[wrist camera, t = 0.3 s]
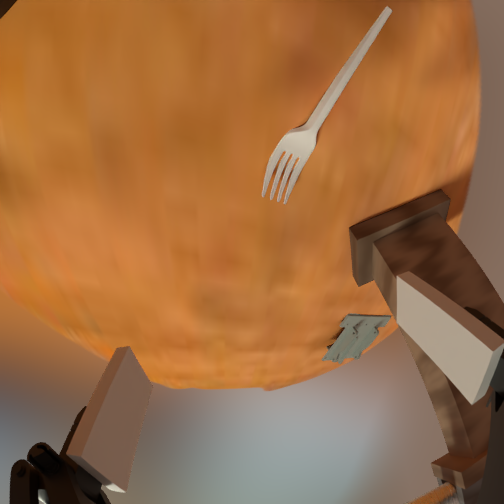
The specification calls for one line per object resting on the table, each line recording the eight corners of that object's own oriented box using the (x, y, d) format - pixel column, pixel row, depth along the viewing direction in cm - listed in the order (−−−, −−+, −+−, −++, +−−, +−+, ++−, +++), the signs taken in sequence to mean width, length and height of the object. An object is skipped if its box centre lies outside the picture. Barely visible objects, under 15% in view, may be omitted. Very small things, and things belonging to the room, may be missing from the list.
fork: (397, 18, 13) (411, 20, 12) (283, 194, 24) (289, 206, 23) (370, -6, 12) (384, -6, 10) (251, 183, 23) (257, 195, 22)
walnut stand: (352, 275, 36) (439, 494, 14) (349, 227, 29) (469, 512, 7) (430, 239, 35) (526, 429, 13) (441, 189, 28) (571, 417, 5)
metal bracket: (362, 364, 56) (316, 370, 49) (349, 347, 60) (303, 350, 54) (399, 317, 51) (357, 315, 44) (383, 300, 55) (339, 295, 48)
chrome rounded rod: (370, 512, 15) (377, 538, 12) (372, 522, 12) (379, 550, 9) (523, 418, 13) (530, 443, 10) (541, 412, 10) (548, 439, 7)
